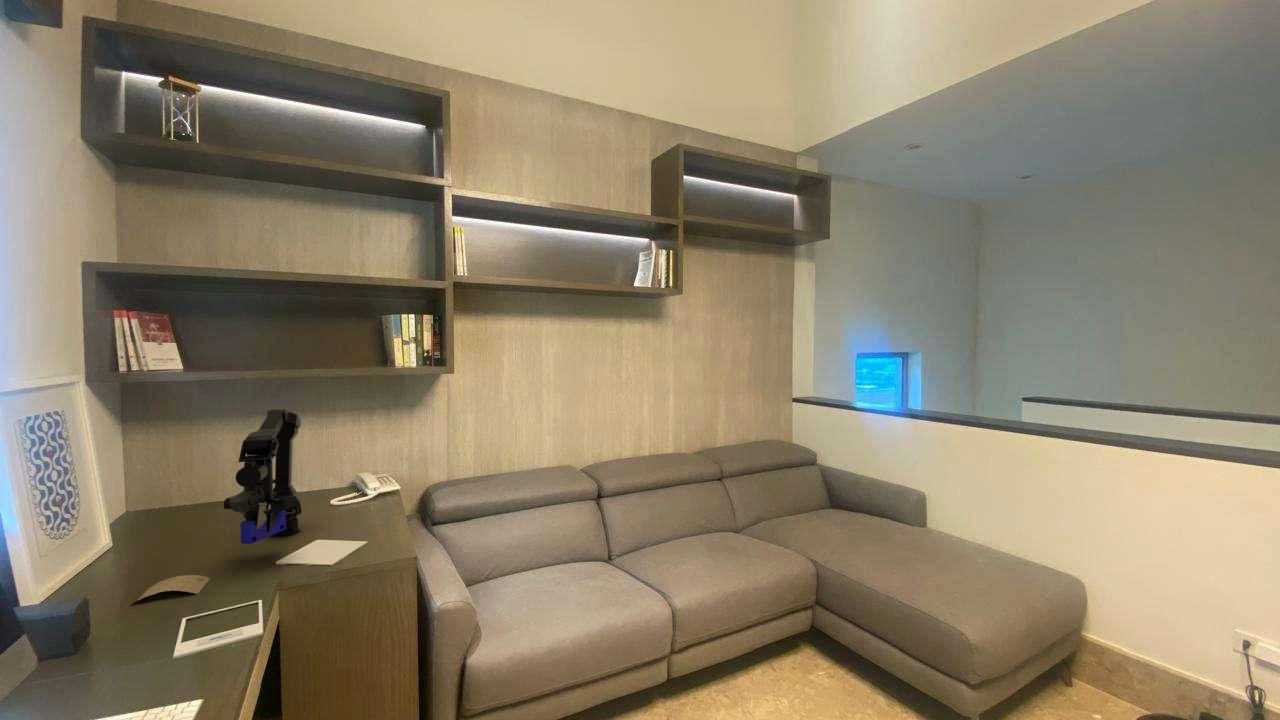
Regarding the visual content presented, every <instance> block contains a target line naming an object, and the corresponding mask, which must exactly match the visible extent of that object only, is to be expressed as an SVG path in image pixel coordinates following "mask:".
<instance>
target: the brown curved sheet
mask: <svg viewBox="0 0 1280 720" xmlns="http://www.w3.org/2000/svg"><path fill="white" fill-rule="evenodd" d="M210 580H211V578H210V577H208V576H205V575H197V574H196V575H194V574H193V575H191V574H189V575H179V576H173V577H170V578H168V579H163V580H162V581H161V580H160V581H159V582H157V583H155V584H153V585H152V586H151V585H150V587H149V588H147V589H148V590H147V589H146V590H147V591H146V590H145V591H146V592H145V591H144V592H145V593H144V592H143V593H144V594H143V593H142V594H143V595H142V594H141V595H142V596H141V595H140V596H141V597H140V596H139V597H140V598H139V597H138V598H139V599H138V598H137V599H138V600H137V599H136V600H137V601H136V602H138V601H141V600H142V599H144V598H146V597H149V596H153V595H156V594H158V593H159V594H160V593H162V592H170V591H178V592H186V593H190V594H192V593H193V594H197V595H199V593H200V591H201V590H202V589H203V588H204V586H206V585H207V583H208V582H209V581H210ZM136 602H135V601H134V602H133V604H135V603H136Z"/></svg>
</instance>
